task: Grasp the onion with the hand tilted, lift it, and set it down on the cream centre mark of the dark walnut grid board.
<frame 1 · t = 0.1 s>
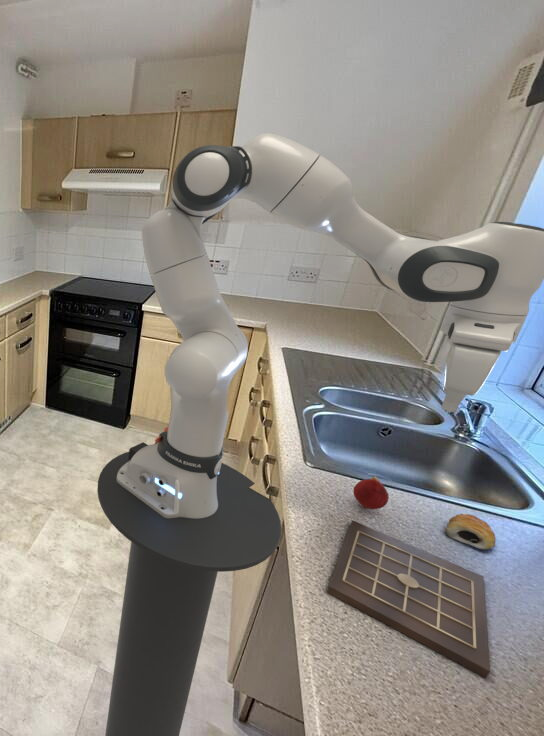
hand: (448, 401, 73), 30 cm above the counter, tool pointing down, fingers open, 8 cm apart
grid board: (405, 587, 72), on the counter
pastry: (466, 536, 83), on the counter
onion: (365, 508, 90), on the counter
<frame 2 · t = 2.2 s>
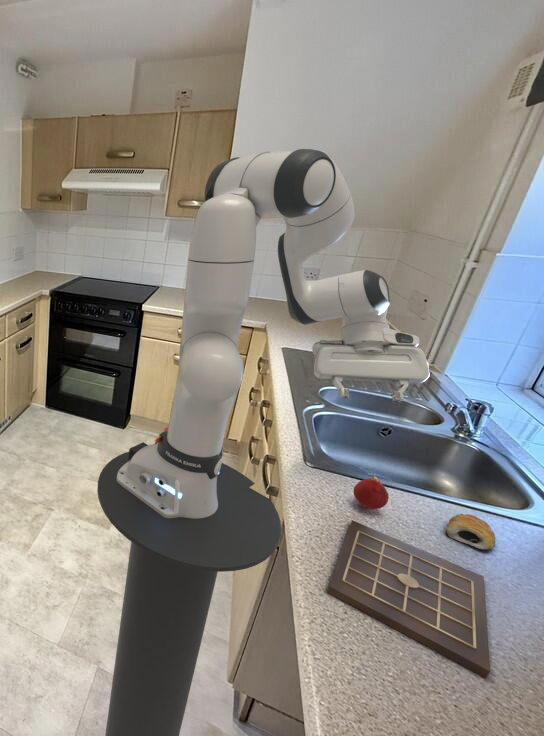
hand: (370, 399, 90), 22 cm above the counter, tool tilted 40°, fingers open, 8 cm apart
nothing on the counter moved.
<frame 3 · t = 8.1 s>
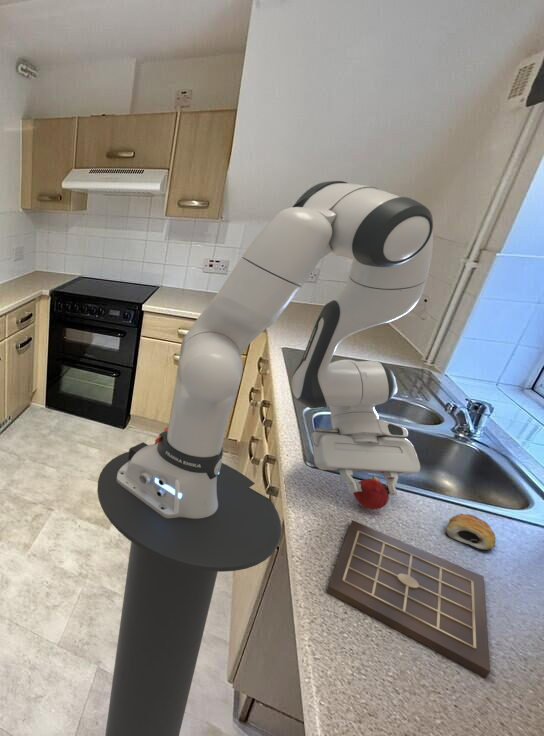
hand: (373, 493, 88), 4 cm above the counter, tool tilted 45°, fingers closed on onion, 5 cm apart
onion: (365, 508, 90), on the counter, touching gripper
everything else where it was.
when the fingers open (6 cm above the counter, at t = 17.3 s): onion stays where it is, resting on grid board.
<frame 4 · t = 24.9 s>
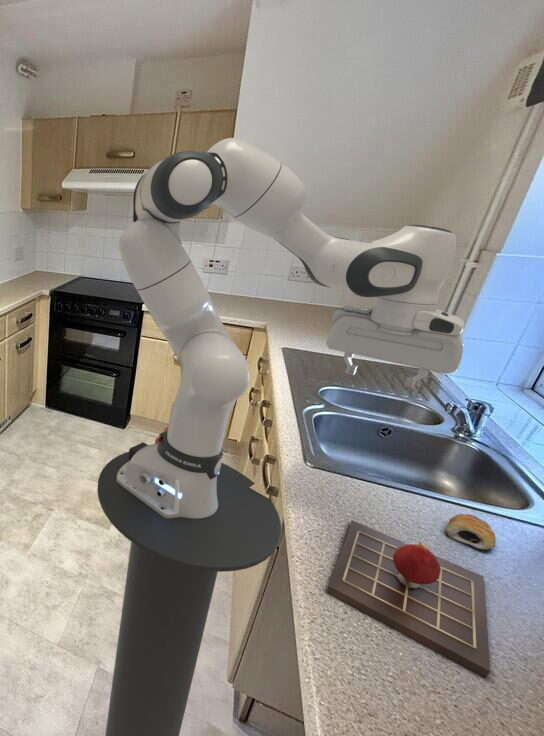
hand: (378, 380, 83), 29 cm above the counter, tool pointing down, fingers open, 8 cm apart
onion: (408, 581, 71), point 1 cm above the counter, touching grid board
everything else where it was.
at the end: onion 0.1 cm off-centre on the grid board, point 1.4 cm above the grid board's base; onion tilted 0°; the gripper is holding nothing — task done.
